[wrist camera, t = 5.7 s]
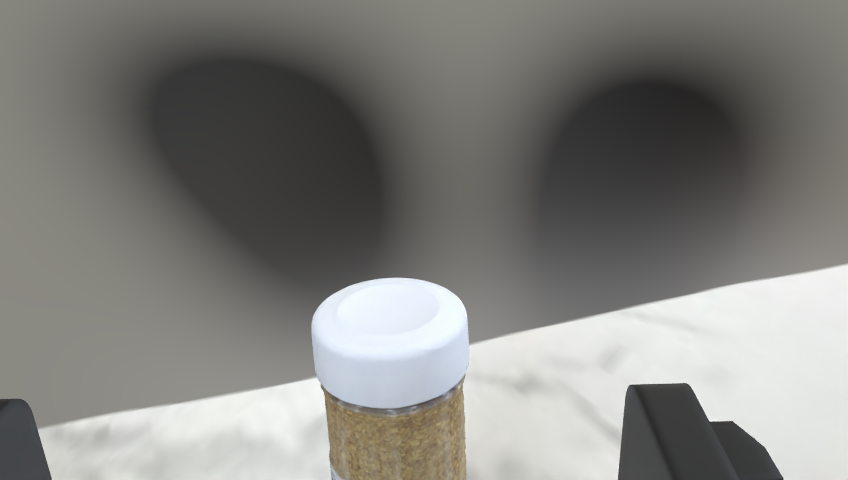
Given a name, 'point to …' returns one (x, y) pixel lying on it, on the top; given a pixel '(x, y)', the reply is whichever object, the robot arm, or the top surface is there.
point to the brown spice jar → (393, 380)
